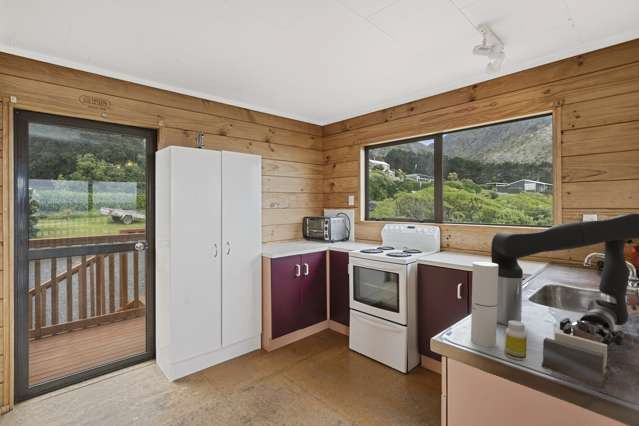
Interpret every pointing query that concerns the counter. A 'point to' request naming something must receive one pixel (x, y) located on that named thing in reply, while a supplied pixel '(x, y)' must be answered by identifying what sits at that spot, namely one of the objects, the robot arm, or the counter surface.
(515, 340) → the supplement bottle
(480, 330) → the cylindrical container
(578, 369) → the gauge base
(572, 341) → the gauge plate
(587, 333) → the lighter
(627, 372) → the counter surface
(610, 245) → the robot arm
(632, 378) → the counter surface
